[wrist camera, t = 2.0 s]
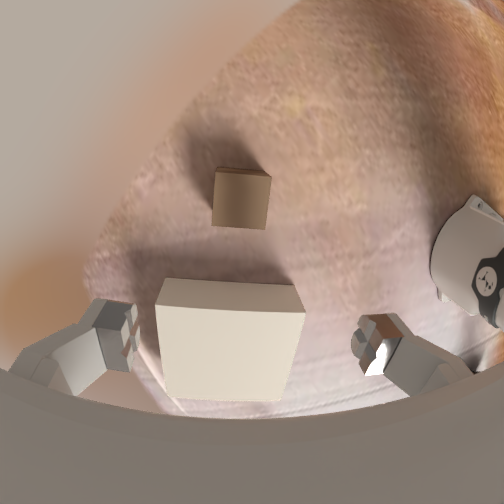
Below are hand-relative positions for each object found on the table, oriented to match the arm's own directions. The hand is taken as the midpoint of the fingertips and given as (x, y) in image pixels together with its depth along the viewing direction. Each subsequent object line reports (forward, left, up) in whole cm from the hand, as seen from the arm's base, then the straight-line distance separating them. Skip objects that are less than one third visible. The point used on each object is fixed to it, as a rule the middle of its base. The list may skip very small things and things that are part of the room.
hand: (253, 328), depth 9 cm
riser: (0, +18, -22) cm, 29 cm away
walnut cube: (0, -1, -22) cm, 22 cm away
